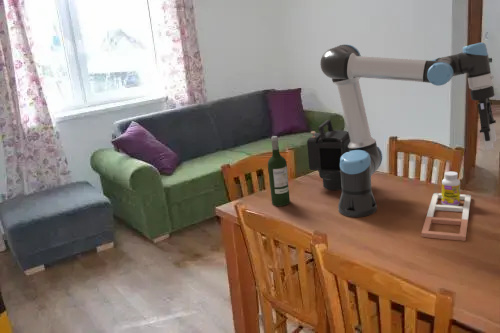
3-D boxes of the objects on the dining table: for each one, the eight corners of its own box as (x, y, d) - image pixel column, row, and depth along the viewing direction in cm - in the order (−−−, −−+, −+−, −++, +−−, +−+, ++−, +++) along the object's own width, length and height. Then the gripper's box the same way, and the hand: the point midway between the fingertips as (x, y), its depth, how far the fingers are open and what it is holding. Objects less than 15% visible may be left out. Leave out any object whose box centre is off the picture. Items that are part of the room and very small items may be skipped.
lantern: (348, 192, 216) (344, 126, 207) (310, 190, 224) (304, 126, 215) (356, 180, 229) (353, 118, 220) (319, 179, 236) (315, 118, 227)
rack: (433, 196, 201) (433, 192, 200) (470, 198, 195) (470, 194, 194) (421, 236, 169) (421, 232, 168) (465, 240, 162) (465, 236, 162)
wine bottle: (281, 207, 208) (274, 140, 199) (268, 203, 213) (261, 138, 204) (293, 201, 212) (287, 135, 203) (281, 198, 218) (274, 133, 209)
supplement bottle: (441, 206, 190) (441, 176, 186) (441, 200, 196) (441, 170, 192) (459, 207, 187) (460, 176, 184) (459, 201, 193) (460, 170, 189)
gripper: (489, 89, 160) (500, 151, 163) (495, 81, 180) (504, 136, 184) (465, 94, 164) (476, 154, 167) (473, 85, 185) (483, 139, 188)
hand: (491, 145), depth 175 cm, fingers open, 13 cm apart
